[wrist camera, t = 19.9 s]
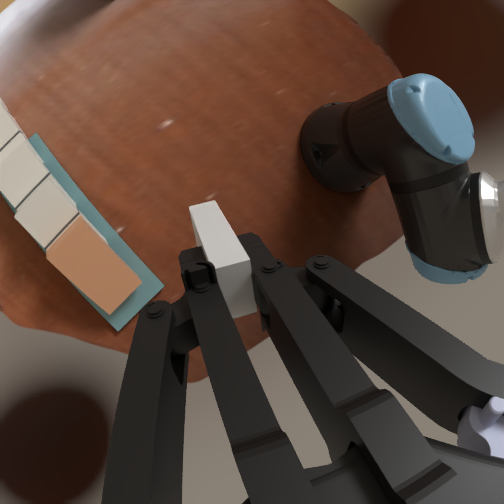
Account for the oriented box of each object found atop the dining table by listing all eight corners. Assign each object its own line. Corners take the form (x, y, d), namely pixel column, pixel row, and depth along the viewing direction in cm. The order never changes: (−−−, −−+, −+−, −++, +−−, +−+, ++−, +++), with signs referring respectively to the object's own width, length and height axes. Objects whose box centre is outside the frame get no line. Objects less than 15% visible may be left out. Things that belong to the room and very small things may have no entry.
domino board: (164, 284, 42) (164, 285, 41) (118, 329, 40) (118, 331, 39) (37, 134, 34) (35, 132, 33) (-7, 179, 32) (-9, 179, 31)
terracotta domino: (142, 282, 38) (82, 220, 31) (109, 314, 37) (46, 258, 30) (137, 274, 40) (80, 215, 33) (106, 305, 39) (46, 250, 32)
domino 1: (42, 162, 32) (-1, 101, 27) (10, 195, 31) (-34, 134, 25) (44, 162, 34) (3, 104, 29) (13, 193, 33) (-29, 135, 27)
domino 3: (108, 244, 36) (49, 178, 29) (75, 278, 35) (13, 217, 28) (105, 238, 38) (49, 176, 31) (74, 270, 37) (16, 212, 30)
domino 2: (76, 206, 35) (23, 140, 28) (43, 240, 33) (-11, 176, 27) (76, 203, 36) (26, 141, 30) (44, 235, 35) (-7, 175, 29)
